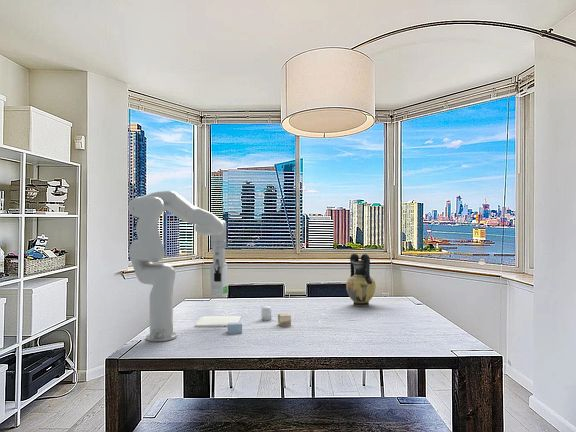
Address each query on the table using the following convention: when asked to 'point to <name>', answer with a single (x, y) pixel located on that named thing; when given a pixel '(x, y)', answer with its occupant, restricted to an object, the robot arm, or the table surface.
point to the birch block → (284, 319)
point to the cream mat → (217, 321)
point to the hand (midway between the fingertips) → (219, 280)
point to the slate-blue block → (235, 327)
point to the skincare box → (219, 282)
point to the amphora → (360, 281)
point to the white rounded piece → (266, 313)
